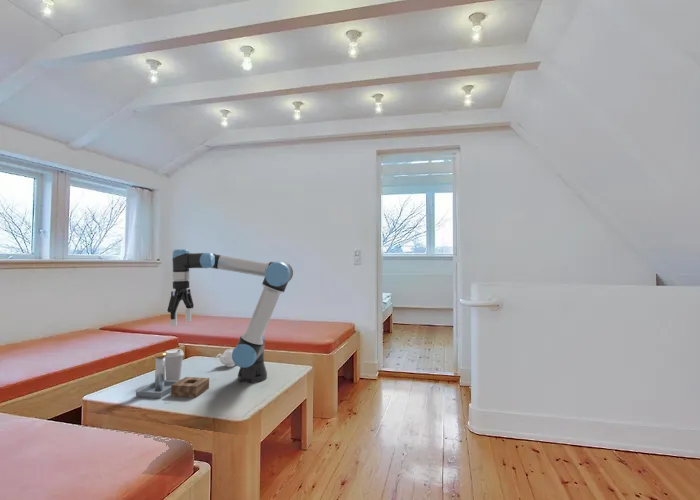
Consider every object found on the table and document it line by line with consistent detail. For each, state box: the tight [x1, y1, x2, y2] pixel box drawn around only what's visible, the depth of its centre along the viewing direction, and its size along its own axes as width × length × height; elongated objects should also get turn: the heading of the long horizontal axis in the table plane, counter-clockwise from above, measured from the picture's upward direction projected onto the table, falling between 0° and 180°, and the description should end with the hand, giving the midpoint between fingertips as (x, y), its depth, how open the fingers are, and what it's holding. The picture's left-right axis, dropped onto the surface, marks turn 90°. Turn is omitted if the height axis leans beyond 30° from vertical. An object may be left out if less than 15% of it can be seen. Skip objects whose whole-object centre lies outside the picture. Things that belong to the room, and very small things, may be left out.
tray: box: [135, 379, 178, 399], centre depth 172 cm, size 12×16×2 cm
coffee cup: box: [164, 348, 185, 381], centre depth 188 cm, size 10×10×15 cm
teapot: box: [215, 348, 236, 368], centre depth 215 cm, size 10×20×9 cm, turn 140°
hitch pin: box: [154, 352, 167, 392], centre depth 172 cm, size 5×5×17 cm
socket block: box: [170, 376, 210, 399], centre depth 171 cm, size 12×12×5 cm
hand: (181, 323), depth 180 cm, fingers open, 13 cm apart
